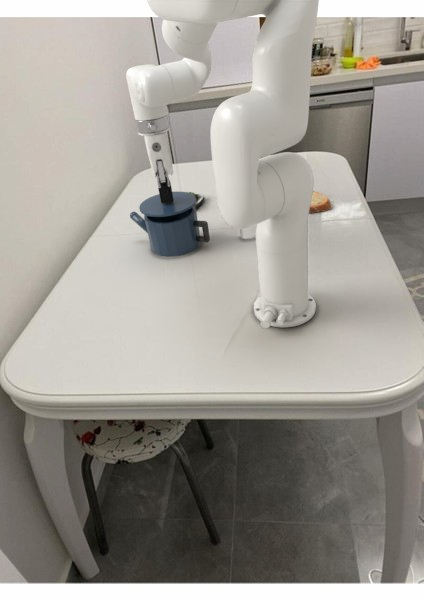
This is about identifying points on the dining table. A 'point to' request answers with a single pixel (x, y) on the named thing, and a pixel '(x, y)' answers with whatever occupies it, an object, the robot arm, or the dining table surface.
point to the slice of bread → (319, 203)
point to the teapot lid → (167, 204)
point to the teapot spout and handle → (203, 224)
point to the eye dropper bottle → (248, 232)
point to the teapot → (173, 233)
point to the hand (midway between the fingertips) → (167, 198)
